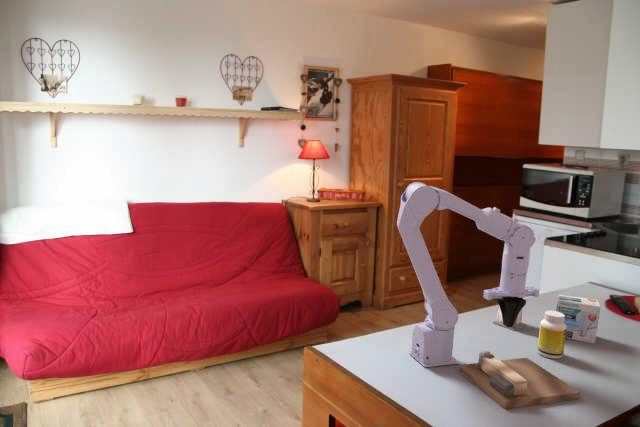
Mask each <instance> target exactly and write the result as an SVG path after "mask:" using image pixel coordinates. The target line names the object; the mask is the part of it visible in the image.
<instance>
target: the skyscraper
mask: <svg viewBox="0 0 640 427" xmlns="http://www.w3.org/2000/svg"><path fill="white" fill-rule="evenodd" d="M508 244H509V243H508ZM503 253H504V251H503V252H502V254H503ZM530 259H531V248H530V249H529V259H528V267H527V272H528V270H529V266H530ZM502 262H503V258H502V260H501V263H502ZM497 309H498V310H497V313H496V319H495V320H494V321H492V324H494V325H496V326H499V327H501V328H506V329H507V330H511V331H513V332H515V331H517V330H521V329H522V328H525V327H527V324H526V323H524V322H522V321H523V308H522V309H521V311H520V312H519V314H518V316H517V318H516V320H515V322H514V325H513V327H507V326H505V325H503V319H502V313H501V309H500V306H499V305H498V308H497Z"/></svg>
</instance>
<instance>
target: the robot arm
mask: <svg viewBox="0 0 640 427" xmlns="http://www.w3.org/2000/svg"><path fill="white" fill-rule="evenodd" d="M447 209H449V210H450V211H453V212H455V213H457V214H459V215H462V216H463V217H466V218H468V219H470V220H473V221H474V222H475V224H476V227H477V229H478V230H479V231H482V232H483V233H486V234H487V235H489V236H492V237H494V238H496V239H498V240H501V241H503V242H504V244H503V245H504V246H503V252H504V253H503V252H502V259H503V262H502V261H501V273H500V282H499V286H497V287H493V288H489V289H484V290H483V299H485V300H487V301H492V300H494V299H495V300H496V302H497V303H498V307H499V306H500V309H501V313H502V319H503V325H505V326H507V327H513V325H514V322H515V320H516V318H517V316H518V314H519V312H520V311H521V309H522V310H523V308H524V307H525V306H526V303H527V300H526V299H525V298H526V297H534V298H539V296H540V288H537V287H535V286H526V284H527V275H528V271H527V267H528V259H529V249H530V250H531V249H532V247H533V245H534V244H535V243H536V239H537V238H536V237H535V233H534V230H533V228H531V227H530V226H528V225H526V224H524V223H521V222H519V220H518V219H519V218H516V217H514V216H512V217H510V216H508V215H506V214H504V213H501V209H499V208H497V207H496V206H494V207H493V208H492V207H485V208H479V207H477V206H475V205H473V204H471V203H470V202H468V201H465V200H464V199H462V198H460V197H458V196H456V195H455V194H452V193H451V192H449V191H446V190H444V189H441V188H439V187H436V186H432V185H427V184H425V183H424V182H421V181H415V182H412V183H410V184H408V186H407V187H406V188H405V190H404V192H403V193H402V194H401V196H400V206H399V211H398V214H397V221H396V227H397V229H398V232H399V235H400V237H401V239H402V242H403V244H404V246H405V247H404V248H405V249H406V252H407V254H408V257H409V259H410V263H411V264H412V267H413V269H414V272H415V274H416V277H417V279H418V281H419V285H420V287H421V290H422V294H423V296H424V309H425V311H426V313H427V315H426V317H425V318H424V322H423V323H422V324H419V325H416V326H415V327H414V328H413V331H412V340H411V351H409V354H410V355H411V356H412V357H413V358H415V360H416V361H417V362H418V363H419V364H420V365H422V366H423V367H424V368H431V367H440V366H450V365H459V363H460V362H459V360H458V359H456V357H454V356H453V349H454V338H455V337H454V336H455V329H456V328H455V327H456V324H457V323H458V320H459V312H458V310H457V308H455V307H454V306H453V304H452V303H451V301H450V300H449V297H448V296H447V294H446V292H445V289H444V288H443V286H442V283H441V280H440V278H439V276H438V273H437V270H436V269H435V266H434V262H433V260H432V257H431V255H430V252H429V251H428V248H427V245H426V242H425V240H424V237H423V235H422V232H421V229H420V227H421V225H422V223H423V222H424V220H425V218H426V217H427V216H429V215H430V214H431V213H432V212H433V211H434V210H437V211H441V210H447ZM508 243H509V244H508ZM528 268H529V267H528Z"/></svg>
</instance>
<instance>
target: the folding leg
mask: <svg viewBox="0 0 640 427" xmlns="http://www.w3.org/2000/svg"><path fill="white" fill-rule="evenodd" d="M477 363H478V367H479V368H480V369H481V370H483V371H484V372H485V373H487V374H488V375H489V376H490V377H491V374H500V375H501V376H503V377H504V378H505V379H507V380H508V381H509V382H511V383H512V384H513V394H512V395H514V396H515V395H523V394H526V390H527V382H528V381H527V380H526V379H524V378H523V377H522V376H520V375H519V374H518V373H516V372H515V371H514V370H512V369H511V368H509V367H508V366H507V365H505V364H504V363H503V362H501V360H500V359H499V358H498V357H496V356H495V355H494V354H493V353H491V351H489V350H484V351H481V352H479V354H478V362H477Z"/></svg>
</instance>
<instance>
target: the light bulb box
mask: <svg viewBox="0 0 640 427" xmlns="http://www.w3.org/2000/svg"><path fill="white" fill-rule="evenodd" d="M601 308H602V307H601V305H600V302H599V300H598V299H594V298H593V299H592V298H587V297H581V296H573V295H568V294H567V295H566V294H560V293H559V294H558V296H557V302H556V308H555V311H557V312H560V313H563V314H564V315H565V320H564V321H563V322H564V323H565V324H566V327H567V329H566V337H565V339H569V340H573V341H580V342H583V343H584V342H585V343H590V344H596V340H597V339H596V338H597V332H598V326H599V319H600V314H601Z"/></svg>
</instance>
